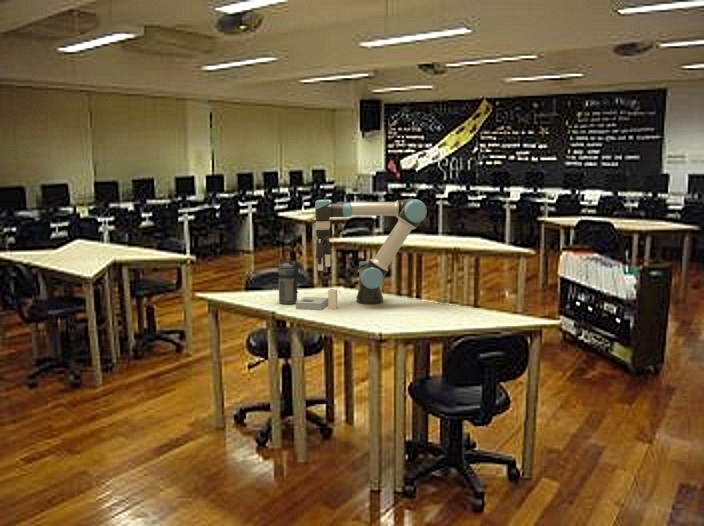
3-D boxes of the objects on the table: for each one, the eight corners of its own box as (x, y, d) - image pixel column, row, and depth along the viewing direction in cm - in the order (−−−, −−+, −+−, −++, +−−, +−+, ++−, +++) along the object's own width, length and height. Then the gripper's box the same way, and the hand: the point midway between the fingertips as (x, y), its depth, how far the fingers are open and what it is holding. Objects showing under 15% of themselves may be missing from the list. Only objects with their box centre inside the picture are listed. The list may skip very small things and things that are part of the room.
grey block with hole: (328, 303, 346) (328, 297, 345) (320, 310, 330) (320, 303, 330) (304, 302, 349) (304, 296, 348) (295, 308, 333) (295, 302, 333)
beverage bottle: (293, 306, 341) (292, 260, 337) (274, 303, 348) (273, 259, 344) (304, 302, 349) (303, 258, 346) (285, 300, 356) (284, 257, 353)
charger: (337, 307, 337) (337, 289, 335) (335, 309, 333) (335, 290, 331) (330, 307, 337) (330, 288, 336) (328, 308, 334) (328, 290, 332)
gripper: (323, 226, 344) (324, 264, 347) (308, 231, 320) (310, 272, 323) (336, 226, 342) (337, 264, 345) (322, 231, 318) (324, 272, 321)
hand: (324, 268), depth 334 cm, fingers open, 13 cm apart
